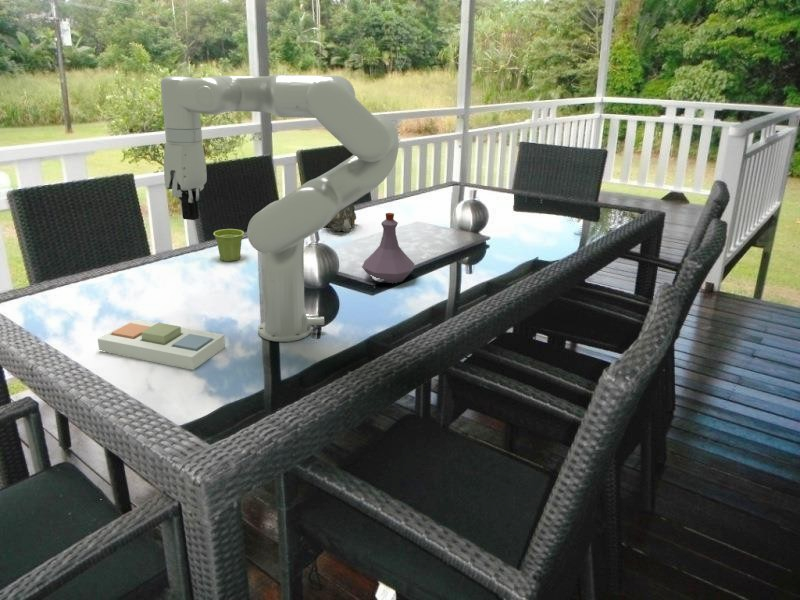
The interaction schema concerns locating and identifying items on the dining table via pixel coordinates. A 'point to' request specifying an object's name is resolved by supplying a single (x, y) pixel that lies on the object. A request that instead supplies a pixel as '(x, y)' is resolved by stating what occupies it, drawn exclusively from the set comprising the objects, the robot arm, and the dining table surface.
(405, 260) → the flask
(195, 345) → the slate blue key
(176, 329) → the olive key
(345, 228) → the rock
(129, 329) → the terracotta key
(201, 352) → the keypad
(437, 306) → the dining table surface
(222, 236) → the plant pot
